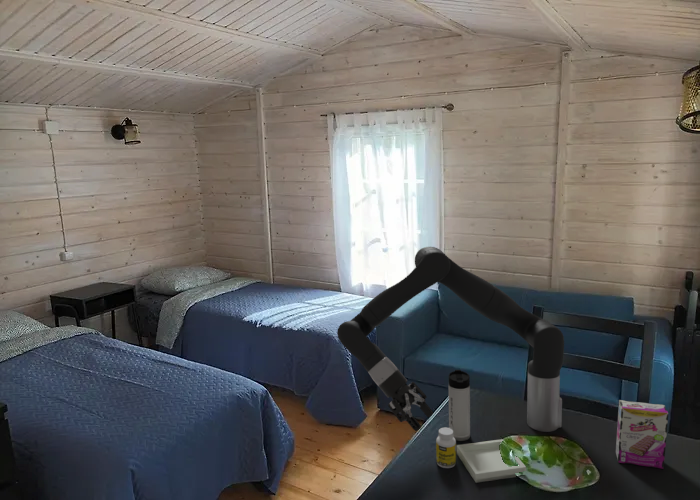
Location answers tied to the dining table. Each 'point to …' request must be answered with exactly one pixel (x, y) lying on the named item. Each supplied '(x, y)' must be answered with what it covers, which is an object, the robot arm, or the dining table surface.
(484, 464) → the tray
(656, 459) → the candy bar box
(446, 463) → the supplement bottle
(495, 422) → the dining table surface
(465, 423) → the travel mug
